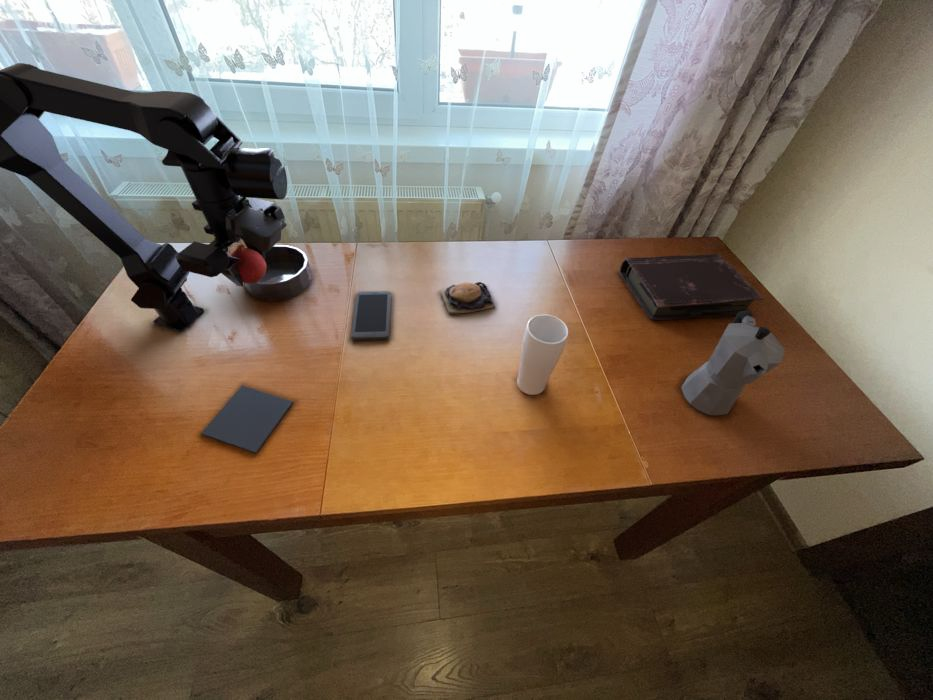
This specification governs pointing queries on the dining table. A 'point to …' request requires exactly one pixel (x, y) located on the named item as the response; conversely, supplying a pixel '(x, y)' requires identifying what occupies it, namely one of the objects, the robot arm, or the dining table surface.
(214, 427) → the mat
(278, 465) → the dining table surface
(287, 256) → the bowl
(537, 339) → the tall white cup
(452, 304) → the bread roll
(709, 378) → the coffeepot
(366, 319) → the cell phone
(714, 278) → the diary
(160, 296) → the robot arm
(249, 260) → the red rounded piece
